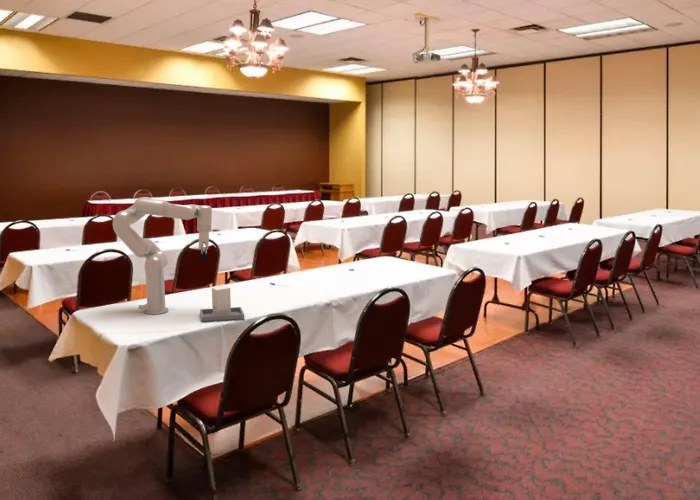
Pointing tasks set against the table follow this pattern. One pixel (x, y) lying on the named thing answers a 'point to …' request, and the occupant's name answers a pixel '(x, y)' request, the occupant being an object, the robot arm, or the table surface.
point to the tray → (208, 315)
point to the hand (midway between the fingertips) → (203, 259)
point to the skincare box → (221, 301)
